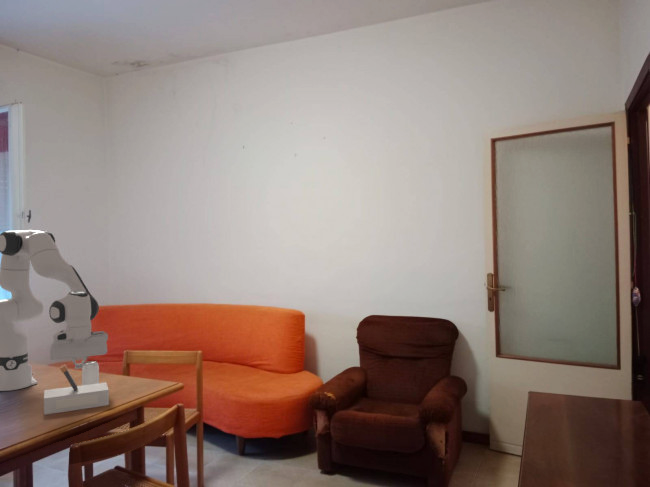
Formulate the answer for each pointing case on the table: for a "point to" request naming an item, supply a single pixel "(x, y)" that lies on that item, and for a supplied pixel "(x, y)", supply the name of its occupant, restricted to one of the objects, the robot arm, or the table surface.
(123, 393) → the table surface
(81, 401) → the box
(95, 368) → the can
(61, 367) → the lever
